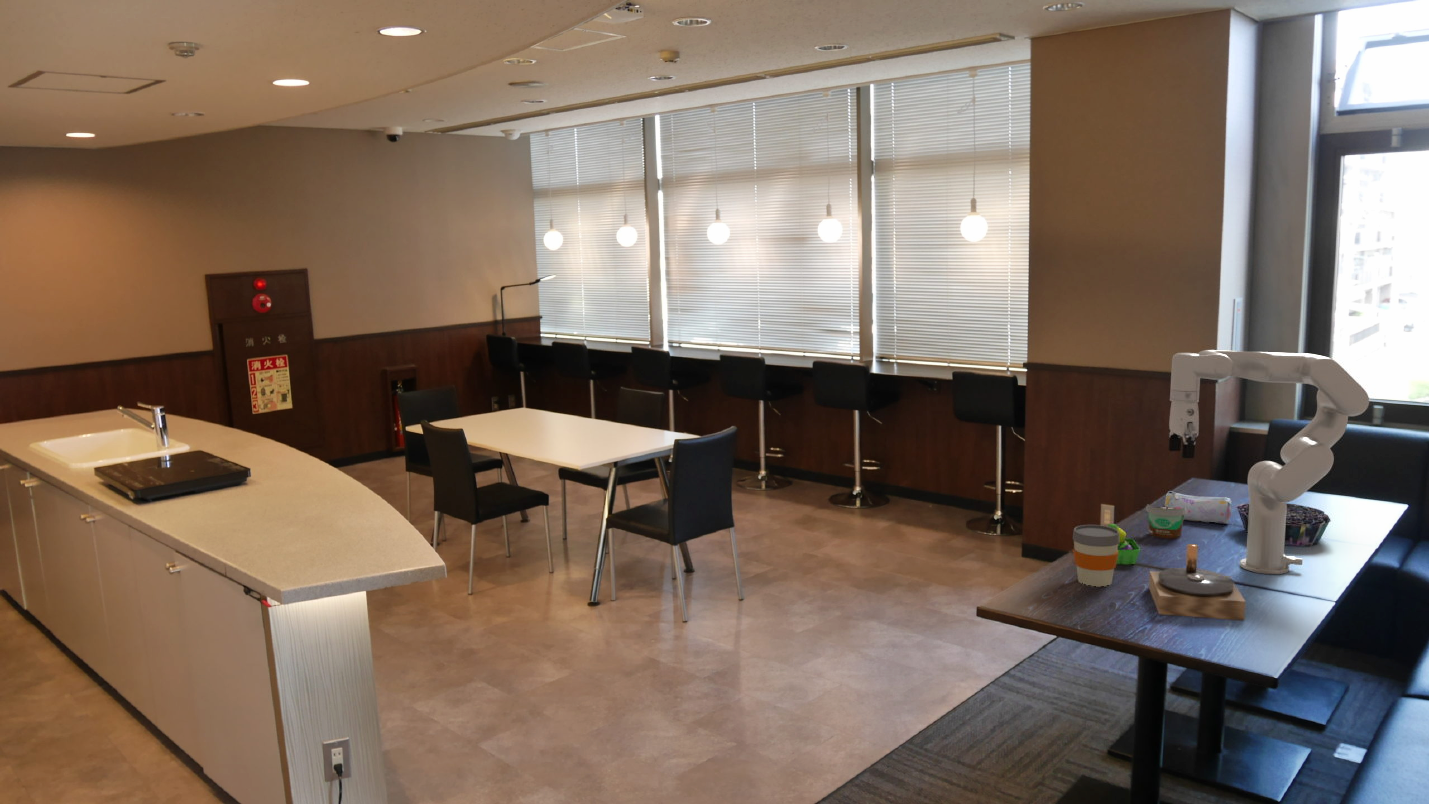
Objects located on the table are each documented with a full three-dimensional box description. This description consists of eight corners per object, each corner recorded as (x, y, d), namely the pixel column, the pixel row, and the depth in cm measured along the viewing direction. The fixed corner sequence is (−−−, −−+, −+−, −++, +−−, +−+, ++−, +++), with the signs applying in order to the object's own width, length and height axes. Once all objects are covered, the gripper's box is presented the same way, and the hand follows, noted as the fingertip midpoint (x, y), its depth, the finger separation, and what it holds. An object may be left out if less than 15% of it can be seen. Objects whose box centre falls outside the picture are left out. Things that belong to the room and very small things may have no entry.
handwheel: (1226, 575, 268) (1227, 545, 267) (1240, 598, 251) (1242, 566, 250) (1154, 571, 274) (1155, 541, 272) (1163, 593, 257) (1164, 561, 255)
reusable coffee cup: (1113, 591, 274) (1115, 539, 272) (1066, 584, 281) (1068, 533, 278) (1122, 578, 285) (1123, 527, 282) (1076, 571, 291) (1078, 522, 289)
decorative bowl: (1304, 530, 331) (1305, 501, 330) (1348, 549, 303) (1349, 517, 302) (1224, 530, 333) (1225, 501, 332) (1261, 549, 306) (1261, 517, 305)
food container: (1145, 538, 321) (1146, 508, 320) (1144, 533, 327) (1145, 503, 325) (1187, 541, 316) (1188, 511, 315) (1185, 536, 322) (1187, 506, 321)
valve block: (1228, 593, 270) (1229, 575, 269) (1244, 620, 251) (1245, 601, 250) (1149, 588, 276) (1149, 571, 275) (1158, 614, 257) (1159, 595, 256)
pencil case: (1161, 519, 343) (1162, 492, 341) (1167, 513, 349) (1168, 487, 348) (1228, 528, 330) (1229, 500, 328) (1233, 522, 337) (1234, 494, 335)
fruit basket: (1140, 566, 294) (1141, 529, 293) (1108, 565, 296) (1110, 528, 294) (1132, 554, 305) (1133, 519, 304) (1102, 553, 307) (1103, 518, 305)
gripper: (1210, 400, 275) (1207, 460, 278) (1185, 391, 292) (1182, 448, 295) (1182, 400, 276) (1179, 460, 278) (1159, 391, 293) (1156, 448, 295)
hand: (1181, 454), depth 286 cm, fingers open, 9 cm apart
